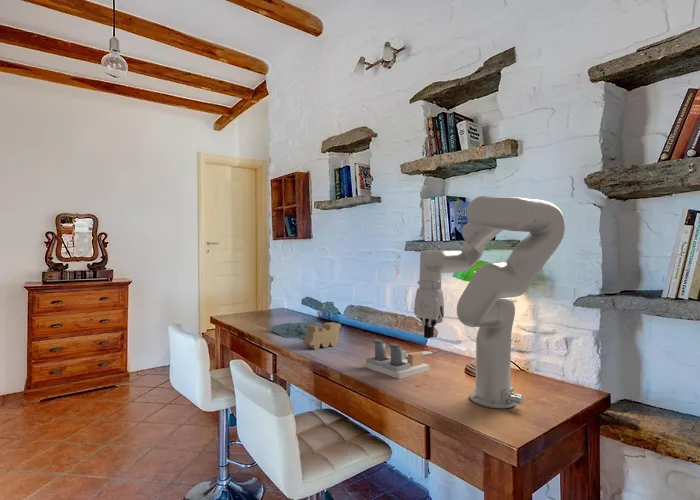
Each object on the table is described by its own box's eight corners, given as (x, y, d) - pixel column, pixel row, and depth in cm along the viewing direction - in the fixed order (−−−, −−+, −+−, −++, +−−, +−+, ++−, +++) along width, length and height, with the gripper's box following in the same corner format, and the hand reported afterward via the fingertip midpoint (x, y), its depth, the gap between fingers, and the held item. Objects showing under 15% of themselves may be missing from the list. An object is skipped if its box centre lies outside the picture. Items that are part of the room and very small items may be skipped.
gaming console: (424, 346, 180) (441, 351, 172) (424, 348, 180) (441, 352, 172) (386, 353, 167) (403, 358, 159) (386, 354, 167) (403, 360, 159)
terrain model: (267, 331, 209) (268, 322, 209) (313, 326, 226) (314, 317, 226) (291, 347, 189) (292, 337, 188) (339, 340, 206) (340, 330, 205)
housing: (429, 370, 145) (430, 342, 145) (399, 379, 134) (400, 349, 134) (395, 360, 157) (395, 334, 157) (365, 367, 147) (365, 340, 147)
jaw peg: (404, 368, 140) (404, 345, 140) (396, 370, 137) (396, 347, 137) (394, 365, 144) (394, 342, 144) (386, 367, 141) (386, 344, 141)
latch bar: (422, 363, 145) (422, 352, 145) (412, 366, 142) (412, 355, 142) (417, 362, 147) (417, 351, 147) (407, 364, 144) (407, 353, 144)
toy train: (302, 348, 174) (303, 325, 174) (333, 343, 185) (333, 321, 185) (310, 351, 170) (310, 327, 170) (341, 345, 181) (341, 323, 181)
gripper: (406, 283, 143) (405, 334, 143) (441, 288, 132) (439, 343, 132) (420, 282, 148) (419, 332, 148) (454, 287, 137) (452, 340, 137)
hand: (428, 337), depth 140 cm, fingers closed
